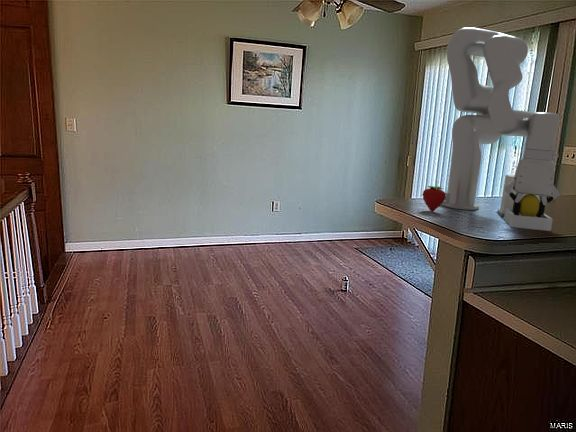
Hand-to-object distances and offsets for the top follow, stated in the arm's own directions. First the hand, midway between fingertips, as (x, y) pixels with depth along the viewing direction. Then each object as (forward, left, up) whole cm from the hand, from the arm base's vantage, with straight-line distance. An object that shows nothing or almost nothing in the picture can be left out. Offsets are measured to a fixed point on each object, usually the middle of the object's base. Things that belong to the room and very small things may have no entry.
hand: (527, 215), depth 139 cm
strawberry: (-27, +7, -3) cm, 28 cm away
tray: (0, 0, -3) cm, 3 cm away
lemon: (0, 0, -1) cm, 1 cm away
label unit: (0, +12, -3) cm, 12 cm away
